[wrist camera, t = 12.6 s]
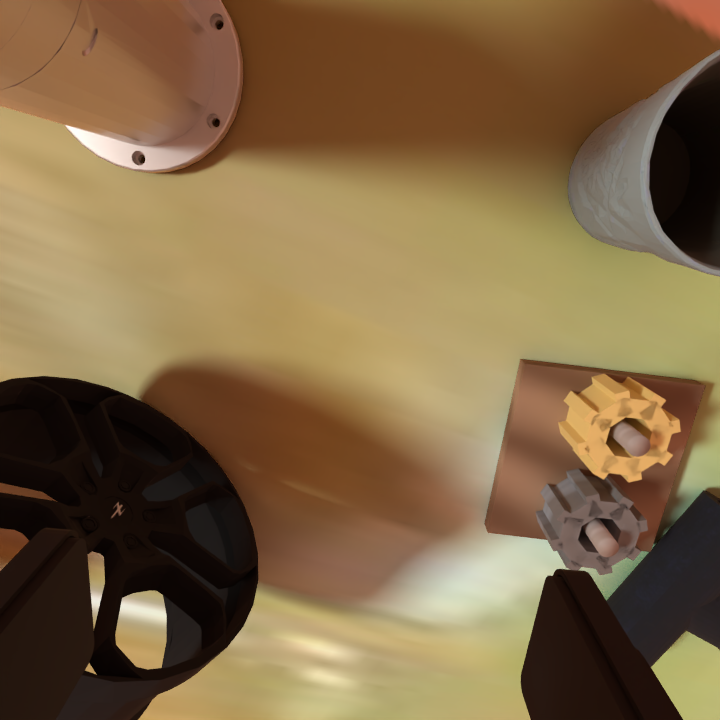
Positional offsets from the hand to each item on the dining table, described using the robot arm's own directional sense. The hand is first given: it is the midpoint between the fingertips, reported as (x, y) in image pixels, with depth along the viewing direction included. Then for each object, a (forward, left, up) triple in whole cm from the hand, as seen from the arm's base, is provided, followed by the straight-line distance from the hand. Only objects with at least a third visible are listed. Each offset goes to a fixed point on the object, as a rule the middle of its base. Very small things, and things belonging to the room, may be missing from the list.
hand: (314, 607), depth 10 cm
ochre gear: (+4, +19, -26) cm, 32 cm away
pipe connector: (+18, +30, -28) cm, 45 cm away
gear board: (+8, +19, -27) cm, 34 cm away
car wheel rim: (+14, -15, -28) cm, 34 cm away
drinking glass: (-12, +17, -28) cm, 34 cm away
